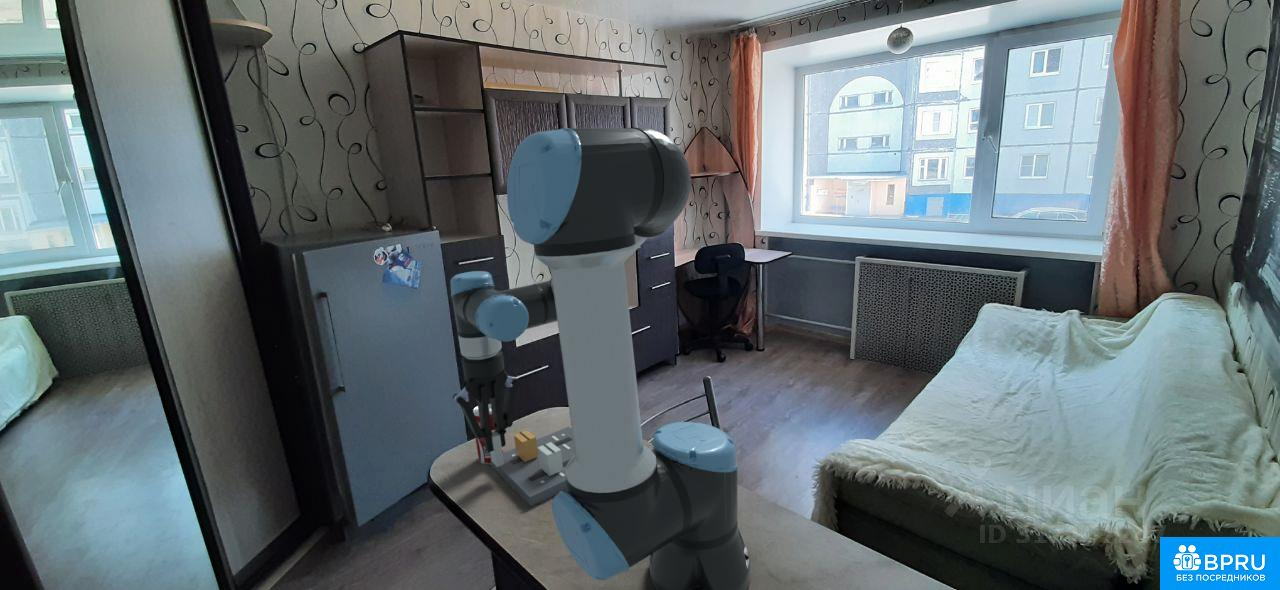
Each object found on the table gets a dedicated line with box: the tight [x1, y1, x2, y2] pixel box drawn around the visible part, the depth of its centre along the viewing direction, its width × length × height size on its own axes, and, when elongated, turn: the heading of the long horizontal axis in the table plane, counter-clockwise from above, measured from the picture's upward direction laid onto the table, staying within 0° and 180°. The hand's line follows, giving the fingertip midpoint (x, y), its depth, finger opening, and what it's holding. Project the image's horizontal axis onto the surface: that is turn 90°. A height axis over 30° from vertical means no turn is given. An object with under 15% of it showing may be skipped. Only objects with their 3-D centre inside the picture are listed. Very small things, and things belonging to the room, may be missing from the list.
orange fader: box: [513, 430, 538, 462], centre depth 111 cm, size 4×3×5 cm
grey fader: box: [538, 442, 563, 476], centre depth 106 cm, size 4×3×5 cm
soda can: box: [472, 403, 504, 466], centre depth 114 cm, size 5×5×12 cm
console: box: [491, 426, 575, 507], centre depth 111 cm, size 18×19×2 cm
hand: (497, 462), depth 107 cm, fingers closed
